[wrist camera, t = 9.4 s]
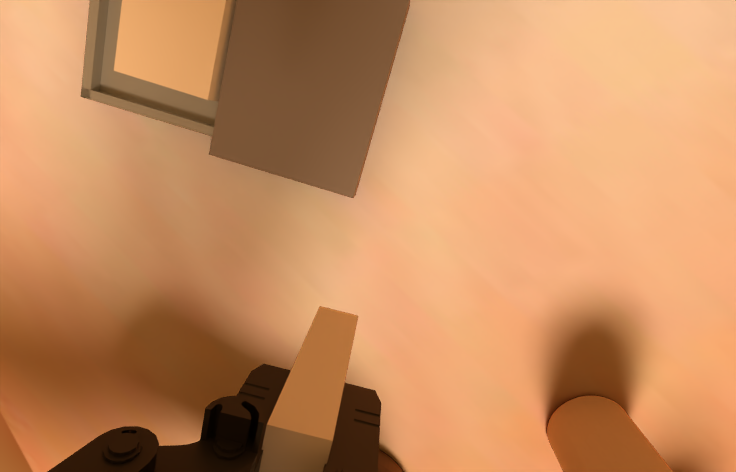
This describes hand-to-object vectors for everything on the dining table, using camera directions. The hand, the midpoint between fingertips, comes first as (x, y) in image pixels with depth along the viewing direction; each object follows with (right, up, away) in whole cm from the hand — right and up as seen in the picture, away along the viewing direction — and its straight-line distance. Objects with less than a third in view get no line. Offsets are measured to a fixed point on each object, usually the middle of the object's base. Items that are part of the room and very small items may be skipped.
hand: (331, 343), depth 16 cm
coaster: (-14, +21, +19) cm, 31 cm away
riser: (-4, +17, +20) cm, 26 cm away
